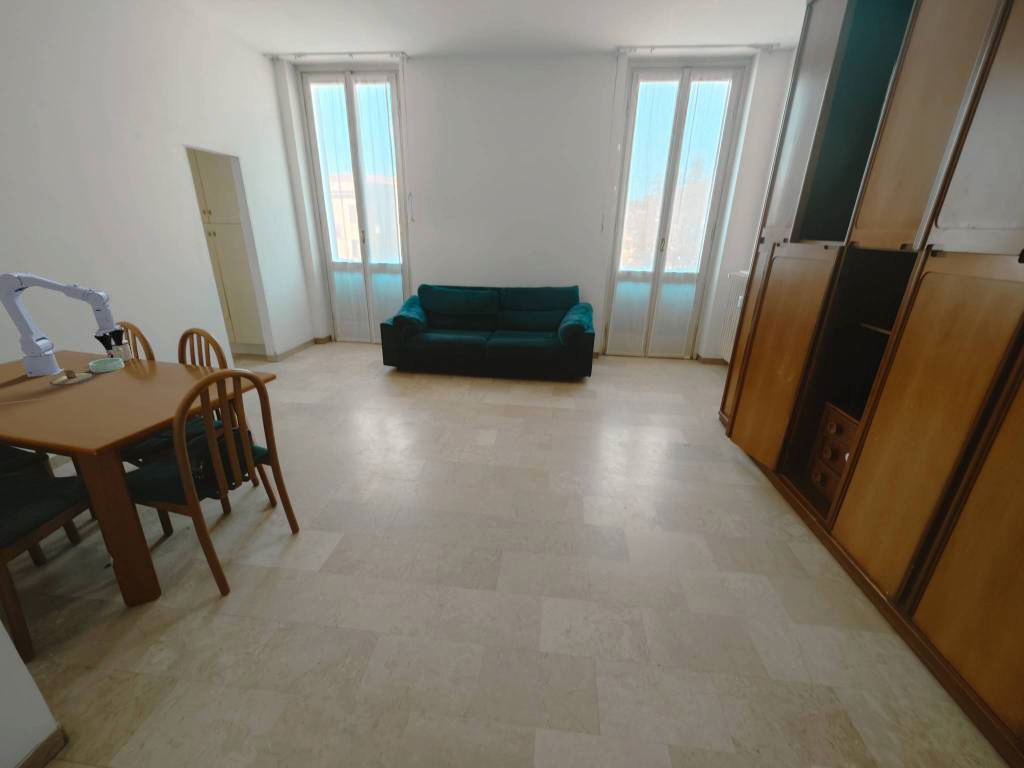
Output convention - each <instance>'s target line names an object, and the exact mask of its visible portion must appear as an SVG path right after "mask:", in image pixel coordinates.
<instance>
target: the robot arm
mask: <svg viewBox="0 0 1024 768" xmlns="http://www.w3.org/2000/svg"><path fill="white" fill-rule="evenodd" d="M30 287H39V288H43V289H48V290H53V291H57V292H60V293H63V294H64V295H65V296H66V297H68V298H71V299H75V300H79V301H83V302H85V303H87V304H89V305H90V306H91V309H92V312H93V315H94V317H95V321H96V323H97V326H98V329H97V331H95V332H94V333H95V335H94V339H96V340H97V341H98V342H99V343H100V344H101V345H102V347H103V348H104V349H105V351H106V350H113V347H112V342H111V339H112V338H113V340H114V343H115V344H116V346H122V340H123V336H124V333H125V330H124V329H123V328H122V327H121V324H116V322H115V319H114V316H113V312H112V310H111V307H110V303H109V302H110V295H109V294H108V293H107V292H105V291H103V290H94V289H93V288H87V287H85V286H84V287H83V286H80V284H78V283H74V284H72V283H70V284H67V285H66V284H63V283H60V282H57V281H54V280H52V279H48V278H45V277H41V276H39V275H36V274H34V273H28V272H27V271H26V272H25V271H16V272H10V273H2V274H0V303H2V305H3V307H4V308H5V311H6V312H7V313H8V315H9V317H10V318H11V320H12V322H13V323H14V325H15V327H16V329H17V331H18V332H19V333H20V335H21V336H20V338H19V343H20V345H21V347H20V349H21V351H22V353H23V354H25V355H24V356H23V357H22V358H21V363H22V366H23V368H24V370H25V373H26V375H27V378H31V377H42V376H51V375H57V374H59V373H60V372H62V371H64V370H65V368H60V367H59V363H58V362H57V359H56V356H55V354H54V351H53V349H54V348H55V347H54V346H55V343H54V342H53V341H52V339H50V338H48V337H47V335H46V334H45V333H43V332H41V331H40V330H39V328H38V326H37V324H36V323H35V321H34V320H33V318H32V316H31V315H30V313H29V311H28V309H27V308H26V306H25V305H24V302H23V301H22V299H21V297H20V296H21V294H22V293H23V292H24V290H26V289H28V288H30Z"/></svg>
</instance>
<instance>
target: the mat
mask: <svg viewBox="0 0 1024 768" xmlns="http://www.w3.org/2000/svg"><path fill="white" fill-rule="evenodd" d="M90 374H91V375H92V378H93V377H94V376H95V375H97V373H90ZM92 378H90V379H88V380H85V381H81V382H77V383H76V384H81V383H82V384H83V383H87V382H88V381H90V380H91V379H92ZM73 384H74V385H75V383H71V384H70V385H73ZM64 385H66V384H62V385H61V386H64ZM53 386H57V385H56V384H52V382H51V383H49V384H48V385H46V387H53Z"/></svg>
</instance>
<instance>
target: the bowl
mask: <svg viewBox="0 0 1024 768" xmlns="http://www.w3.org/2000/svg"><path fill="white" fill-rule="evenodd" d="M88 367H89V369H90V371H91V372H92V373H106V372H107V373H108V372H113V371H117V370H120V369H123V368H124V367H125V361H123V359H121V358H103V359H97V360H93V361H90V362H89V363H88Z"/></svg>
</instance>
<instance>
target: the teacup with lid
mask: <svg viewBox="0 0 1024 768" xmlns="http://www.w3.org/2000/svg"><path fill="white" fill-rule="evenodd" d="M111 342H112V347H113V350H106V349H105V352H106V355H107V357H108V358H121V359H123V362H126V361H127V362H128V361H131V360H132V359H134V355H133V354H132V351H131V347H130V345H129V341H128V340H126V339H122V346H116V344H115V343H114V340H113V338H112V339H111Z"/></svg>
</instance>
